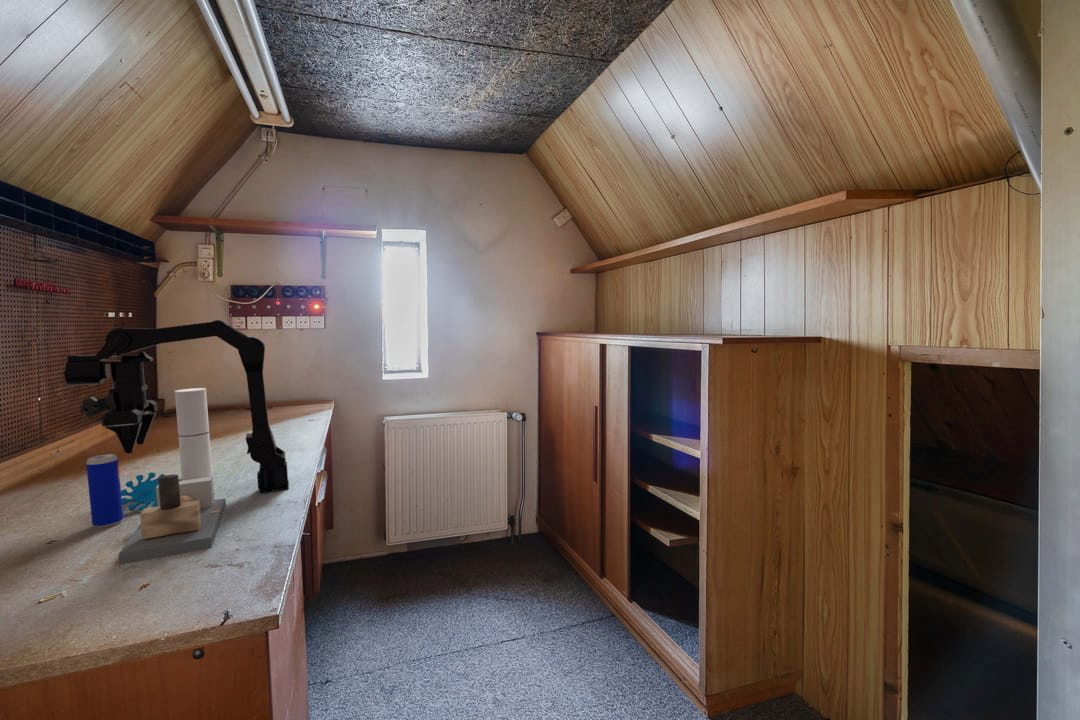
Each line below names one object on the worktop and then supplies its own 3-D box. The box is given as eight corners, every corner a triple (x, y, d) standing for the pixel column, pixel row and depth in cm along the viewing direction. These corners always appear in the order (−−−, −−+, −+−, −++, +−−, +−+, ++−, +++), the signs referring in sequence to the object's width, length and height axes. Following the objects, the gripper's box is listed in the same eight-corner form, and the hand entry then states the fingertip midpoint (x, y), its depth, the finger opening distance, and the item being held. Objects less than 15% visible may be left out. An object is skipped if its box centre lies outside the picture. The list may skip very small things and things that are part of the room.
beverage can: (129, 520, 109) (123, 454, 108) (102, 530, 105) (95, 460, 103) (114, 517, 111) (107, 452, 110) (86, 527, 106) (79, 459, 105)
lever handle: (201, 523, 101) (197, 471, 100) (198, 529, 98) (194, 475, 97) (146, 533, 97) (141, 478, 96) (142, 539, 94) (137, 483, 93)
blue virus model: (113, 510, 111) (126, 471, 117) (118, 522, 115) (129, 483, 121) (173, 508, 116) (182, 470, 122) (176, 519, 120) (184, 482, 126)
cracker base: (226, 506, 117) (223, 473, 116) (211, 547, 95) (208, 507, 95) (152, 518, 111) (149, 483, 110) (119, 564, 89) (115, 521, 89)
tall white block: (189, 482, 135) (181, 392, 133) (177, 478, 139) (170, 390, 137) (217, 475, 141) (210, 388, 139) (205, 471, 145) (198, 387, 143)
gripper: (98, 380, 118) (104, 444, 120) (65, 390, 102) (73, 464, 103) (155, 377, 123) (160, 438, 125) (133, 385, 107) (140, 456, 108)
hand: (134, 448), depth 115 cm, fingers open, 9 cm apart
